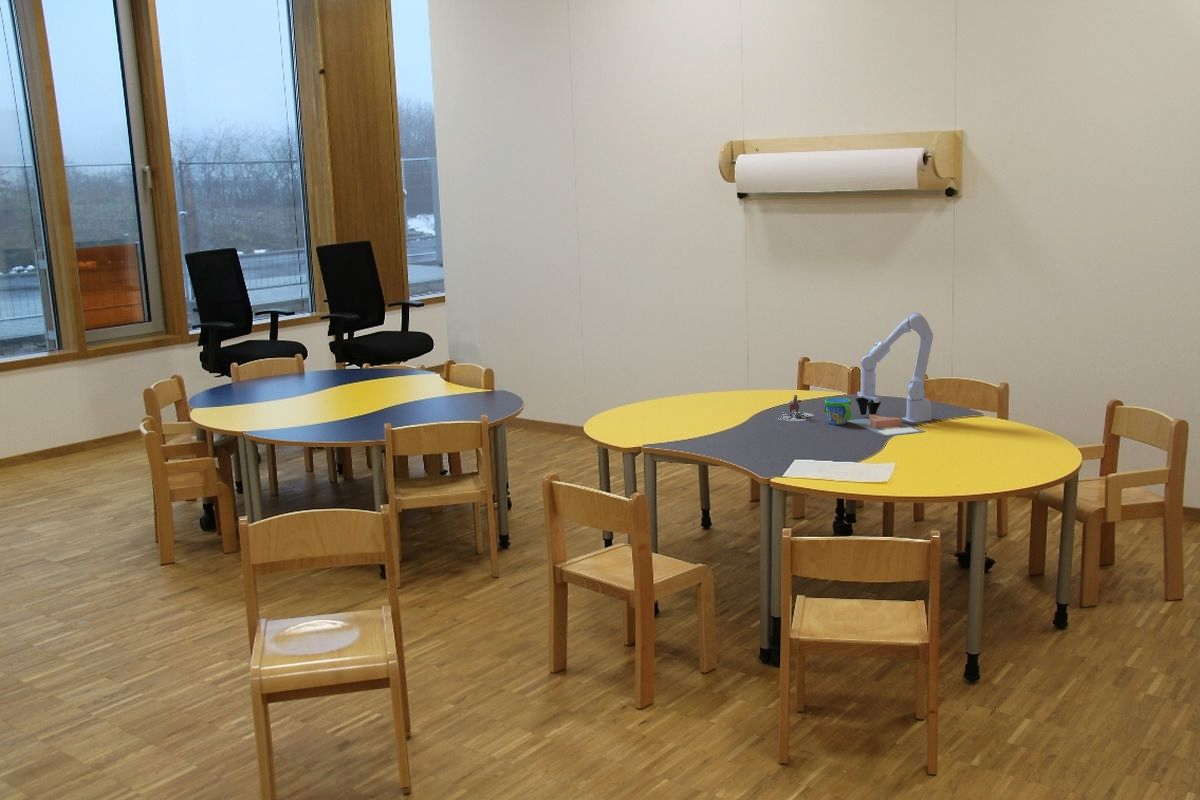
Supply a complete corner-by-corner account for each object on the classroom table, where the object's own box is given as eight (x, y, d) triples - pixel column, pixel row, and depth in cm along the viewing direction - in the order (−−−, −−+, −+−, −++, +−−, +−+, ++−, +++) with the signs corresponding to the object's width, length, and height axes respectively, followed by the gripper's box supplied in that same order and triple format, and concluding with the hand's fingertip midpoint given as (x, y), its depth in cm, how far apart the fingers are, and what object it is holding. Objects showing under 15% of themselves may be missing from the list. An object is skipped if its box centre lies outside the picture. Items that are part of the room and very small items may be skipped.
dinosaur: (818, 421, 473) (818, 395, 470) (775, 422, 473) (775, 396, 471) (811, 411, 490) (811, 387, 488) (770, 413, 491) (770, 388, 488)
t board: (885, 417, 474) (885, 416, 474) (925, 432, 446) (925, 431, 446) (846, 421, 469) (846, 420, 469) (885, 436, 441) (885, 435, 441)
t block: (886, 419, 468) (886, 412, 467) (902, 425, 457) (902, 418, 456) (860, 422, 464) (860, 415, 464) (875, 428, 453) (875, 421, 453)
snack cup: (858, 426, 459) (858, 402, 457) (835, 429, 456) (835, 404, 454) (839, 419, 474) (839, 395, 471) (816, 421, 471) (817, 397, 468)
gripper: (850, 382, 473) (850, 413, 476) (868, 388, 460) (868, 420, 462) (865, 380, 475) (865, 412, 478) (884, 386, 461) (883, 419, 464)
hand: (867, 416), depth 470 cm, fingers open, 7 cm apart
